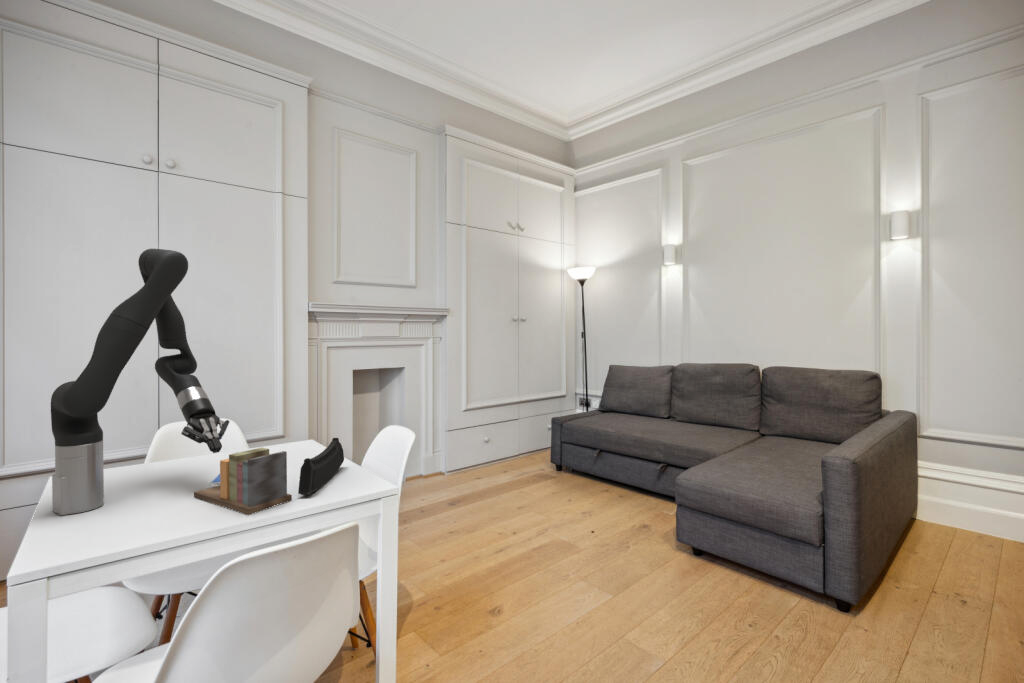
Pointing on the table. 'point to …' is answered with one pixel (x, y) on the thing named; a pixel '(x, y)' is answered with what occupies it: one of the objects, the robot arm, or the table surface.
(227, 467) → the loose bookend
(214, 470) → the table surface
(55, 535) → the table surface
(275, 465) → the book row
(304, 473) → the magazine
